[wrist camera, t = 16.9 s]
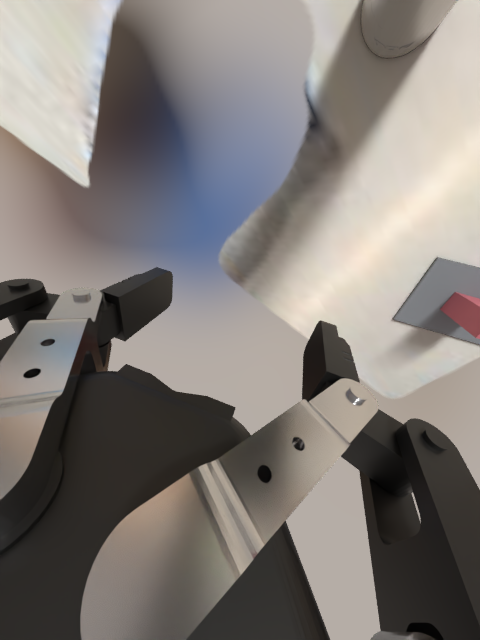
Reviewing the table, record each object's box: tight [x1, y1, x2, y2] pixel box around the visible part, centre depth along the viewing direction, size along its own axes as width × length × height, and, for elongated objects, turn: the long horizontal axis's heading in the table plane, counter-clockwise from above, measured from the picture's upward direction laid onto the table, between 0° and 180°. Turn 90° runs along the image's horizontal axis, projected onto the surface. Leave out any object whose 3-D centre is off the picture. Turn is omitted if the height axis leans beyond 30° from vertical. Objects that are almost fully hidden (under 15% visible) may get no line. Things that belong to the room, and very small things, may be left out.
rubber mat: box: [393, 257, 480, 344], centre depth 35 cm, size 12×16×1 cm
